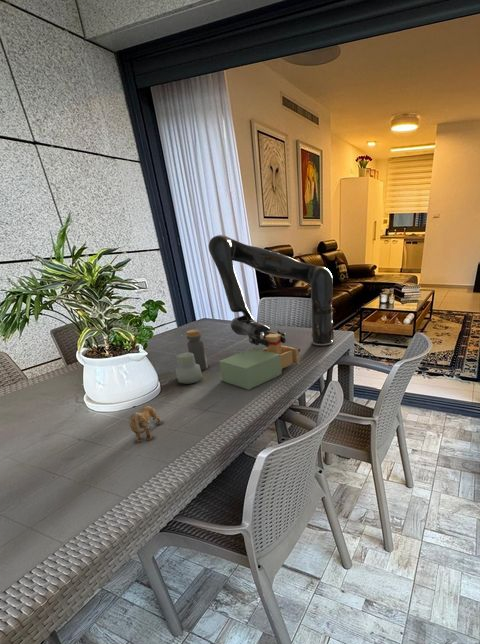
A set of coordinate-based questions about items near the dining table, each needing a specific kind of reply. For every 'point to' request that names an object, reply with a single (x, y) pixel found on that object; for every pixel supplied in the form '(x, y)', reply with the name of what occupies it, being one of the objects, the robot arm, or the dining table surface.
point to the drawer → (288, 355)
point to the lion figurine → (143, 422)
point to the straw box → (274, 343)
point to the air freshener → (187, 368)
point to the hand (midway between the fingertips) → (276, 342)
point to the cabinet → (250, 368)
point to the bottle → (197, 348)
